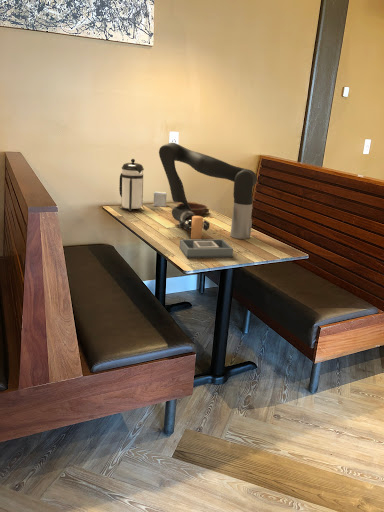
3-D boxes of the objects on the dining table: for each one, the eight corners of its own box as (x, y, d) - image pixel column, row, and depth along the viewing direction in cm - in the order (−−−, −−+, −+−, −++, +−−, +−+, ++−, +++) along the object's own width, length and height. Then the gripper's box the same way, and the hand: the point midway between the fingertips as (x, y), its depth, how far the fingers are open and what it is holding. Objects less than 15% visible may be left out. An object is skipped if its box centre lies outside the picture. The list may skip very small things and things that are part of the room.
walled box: (221, 247, 191) (222, 239, 190) (232, 257, 178) (233, 248, 177) (179, 248, 186) (179, 239, 185) (186, 258, 173) (187, 249, 172)
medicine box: (165, 205, 269) (166, 192, 267) (165, 207, 265) (166, 193, 262) (153, 204, 269) (154, 191, 266) (153, 206, 265) (153, 192, 262)
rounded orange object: (199, 240, 200) (201, 215, 196) (202, 243, 195) (204, 218, 191) (189, 240, 198) (191, 215, 195) (192, 243, 194) (193, 218, 190)
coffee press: (146, 207, 260) (148, 158, 250) (141, 213, 245) (142, 161, 235) (119, 205, 261) (120, 156, 251) (112, 210, 246) (112, 158, 236)
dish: (169, 211, 256) (169, 202, 254) (201, 209, 265) (202, 202, 264) (180, 217, 241) (181, 209, 239) (214, 216, 250) (215, 208, 249)
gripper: (175, 212, 205) (183, 220, 190) (203, 212, 208) (213, 220, 194) (174, 227, 207) (182, 236, 192) (202, 227, 211) (211, 236, 196)
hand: (197, 228), depth 193 cm, fingers open, 8 cm apart
